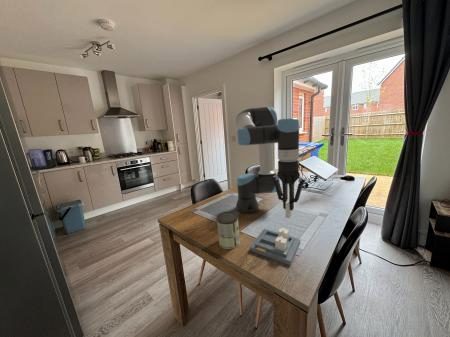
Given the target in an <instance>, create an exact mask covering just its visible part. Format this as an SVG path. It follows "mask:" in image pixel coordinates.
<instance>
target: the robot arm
mask: <svg viewBox="0 0 450 337" xmlns="http://www.w3.org/2000/svg"><path fill="white" fill-rule="evenodd" d="M299 120H300V119H298V118H297V117H291V118H290V117H288V118H280V119H278V114H277V111H276V109H275V108H274V107H273V106H264V107H263V106H262V107H261V106H260V107H254V108H253V107H251V108H246V109H244V110H242V111H241V112H239V113H238V114H237V115H236V118H235V124H236V126H237V127H238V128H237V133H236V134H237V144H238V145H239V146H255V145H258V153H259V154H258V156H259V157H258V158H259V171H257V175H255V173H250V172H249V173H245V174H244V173H243V174H241V175H239V176H238V177H237V180H236V186H237V197H238V198H237V200H236V201H237V202H236V206H235V209H236V211H237V212H238V213H241V214H245V215H246V214H247V215H248V214H253V213H257V212H258V211H259V209H260V208H259V206H260V205H259V203H258V200H257V196H256V195H258V194H272V193H276V195H277V199H278V200H280V201H282V206H283V210H285V219H291V217H292V211H293V210H294V209H295V206H294V205H295V203H298V201H299V199H300V197H301V194H302V193H301V192H302V190H303V186H304V184H305V182H306V181H307V178H306V177H302V176H301V174H300V169H299V168H300V165H299V164H300V161H299V159H300V150H299V149H300V148H299V147H300V144H299V143H300V121H299ZM273 144H277V159H278V161H277V169H278V171H275V168H274V149H273V147H274V146H273ZM297 180H298V185H297V189H296V193H295V183H296V182H297ZM280 181H281V182H280ZM281 185H282V186H281ZM281 187H282V188H281ZM288 190H289V191H288ZM288 195H289V197H288Z"/></svg>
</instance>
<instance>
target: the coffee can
mask: <svg viewBox="0 0 450 337" xmlns="http://www.w3.org/2000/svg"><path fill="white" fill-rule="evenodd" d="M215 219H216V226H217V234H218V245H219V246H220V247H221V248H222V249H224V250H231V249H235V248H237V247H238V246H239V245H240V243H241V241H240V231H239V230H240V229H239V214H237V212H235V211H223V212H220V213H219V214H217V215H216V218H215Z"/></svg>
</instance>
